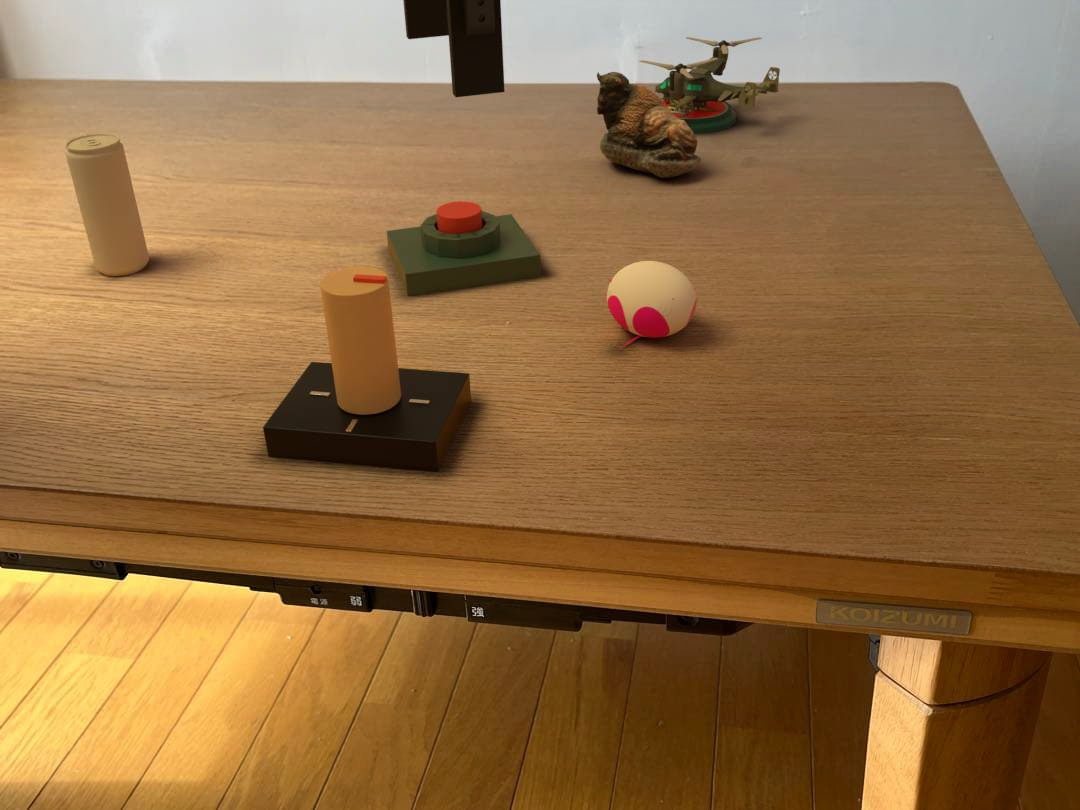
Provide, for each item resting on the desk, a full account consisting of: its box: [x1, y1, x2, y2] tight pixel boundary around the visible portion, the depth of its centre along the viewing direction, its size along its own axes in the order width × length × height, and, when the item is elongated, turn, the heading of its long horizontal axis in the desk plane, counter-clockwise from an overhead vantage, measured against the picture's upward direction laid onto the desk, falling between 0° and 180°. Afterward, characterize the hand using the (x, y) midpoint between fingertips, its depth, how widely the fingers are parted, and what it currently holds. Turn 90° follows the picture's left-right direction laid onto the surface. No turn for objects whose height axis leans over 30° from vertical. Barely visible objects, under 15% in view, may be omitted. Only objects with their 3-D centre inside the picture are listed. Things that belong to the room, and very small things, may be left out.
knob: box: [319, 265, 401, 415], centre depth 74 cm, size 4×4×9 cm
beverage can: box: [64, 132, 150, 277], centre depth 100 cm, size 5×5×12 cm
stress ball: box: [606, 260, 697, 349], centre depth 88 cm, size 8×8×7 cm
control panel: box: [262, 361, 472, 473], centre depth 77 cm, size 12×9×3 cm
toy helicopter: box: [638, 36, 781, 135], centre depth 132 cm, size 20×15×8 cm
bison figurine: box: [596, 71, 702, 179], centre depth 118 cm, size 12×7×10 cm, turn 56°
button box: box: [386, 210, 542, 297], centre depth 100 cm, size 12×10×4 cm
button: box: [436, 200, 483, 234], centre depth 99 cm, size 4×4×2 cm
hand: (451, 62), depth 65 cm, fingers open, 13 cm apart
